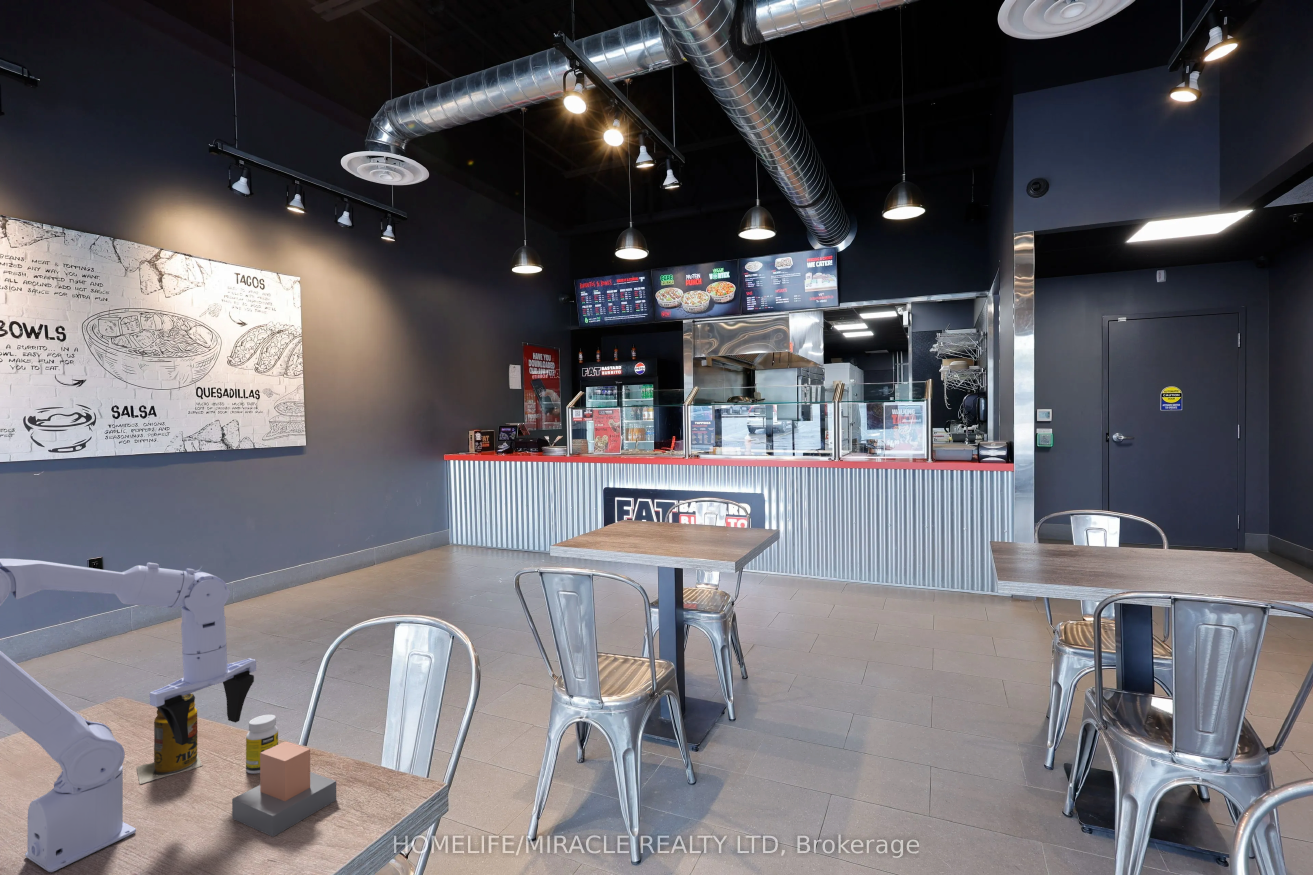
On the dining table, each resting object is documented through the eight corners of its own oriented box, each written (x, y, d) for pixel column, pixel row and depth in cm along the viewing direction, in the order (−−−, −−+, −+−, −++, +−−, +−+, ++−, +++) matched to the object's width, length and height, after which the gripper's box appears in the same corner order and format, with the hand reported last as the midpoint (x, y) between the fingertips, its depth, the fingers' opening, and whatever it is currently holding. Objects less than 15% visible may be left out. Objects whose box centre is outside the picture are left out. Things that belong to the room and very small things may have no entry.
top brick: (285, 801, 91) (285, 760, 91) (260, 791, 93) (260, 752, 93) (310, 787, 94) (310, 748, 94) (285, 778, 97) (285, 741, 97)
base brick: (273, 836, 87) (272, 815, 87) (232, 818, 92) (232, 798, 92) (336, 799, 96) (336, 780, 96) (296, 784, 100) (296, 766, 101)
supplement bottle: (262, 775, 103) (262, 726, 103) (239, 773, 104) (238, 724, 104) (284, 761, 108) (284, 714, 108) (262, 758, 109) (262, 712, 109)
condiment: (202, 766, 107) (202, 698, 107) (139, 785, 101) (139, 713, 101) (196, 751, 112) (196, 686, 112) (136, 768, 106) (136, 700, 106)
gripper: (165, 668, 89) (170, 759, 89) (265, 636, 102) (269, 715, 102) (140, 661, 92) (145, 749, 92) (241, 631, 105) (244, 708, 105)
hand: (208, 731), depth 98 cm, fingers open, 7 cm apart
